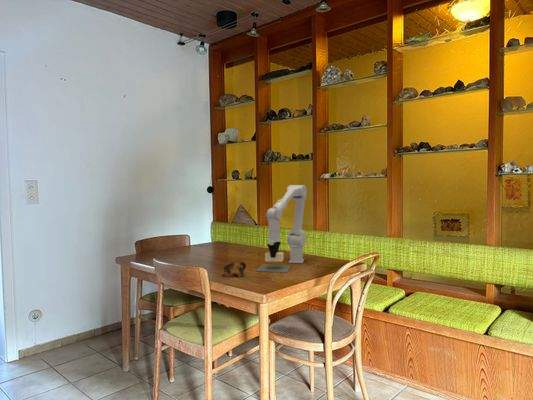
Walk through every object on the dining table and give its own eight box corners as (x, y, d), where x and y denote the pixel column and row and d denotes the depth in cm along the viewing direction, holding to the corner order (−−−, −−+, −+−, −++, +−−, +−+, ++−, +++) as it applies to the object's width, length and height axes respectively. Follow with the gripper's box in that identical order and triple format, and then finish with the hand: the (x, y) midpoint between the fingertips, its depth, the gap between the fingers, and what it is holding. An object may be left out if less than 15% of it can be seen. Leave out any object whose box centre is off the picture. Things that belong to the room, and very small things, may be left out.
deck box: (283, 259, 215) (283, 252, 215) (281, 261, 210) (281, 253, 210) (267, 259, 217) (267, 251, 217) (265, 261, 212) (265, 253, 212)
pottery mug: (235, 280, 192) (227, 264, 193) (226, 284, 199) (218, 270, 200) (253, 269, 200) (245, 255, 201) (243, 274, 207) (235, 260, 208)
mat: (262, 264, 223) (262, 264, 223) (291, 266, 220) (291, 265, 220) (255, 271, 208) (255, 270, 208) (286, 272, 204) (286, 272, 204)
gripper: (269, 229, 221) (269, 253, 221) (263, 232, 206) (263, 258, 207) (282, 229, 219) (282, 254, 220) (277, 232, 205) (277, 259, 206)
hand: (274, 256), depth 213 cm, fingers closed on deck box, 5 cm apart
